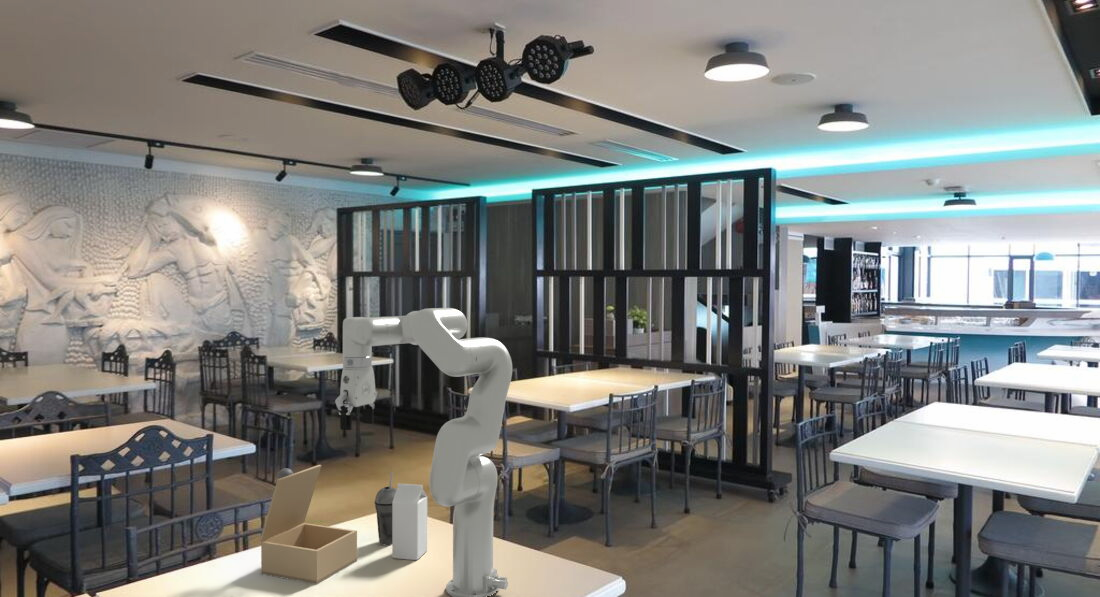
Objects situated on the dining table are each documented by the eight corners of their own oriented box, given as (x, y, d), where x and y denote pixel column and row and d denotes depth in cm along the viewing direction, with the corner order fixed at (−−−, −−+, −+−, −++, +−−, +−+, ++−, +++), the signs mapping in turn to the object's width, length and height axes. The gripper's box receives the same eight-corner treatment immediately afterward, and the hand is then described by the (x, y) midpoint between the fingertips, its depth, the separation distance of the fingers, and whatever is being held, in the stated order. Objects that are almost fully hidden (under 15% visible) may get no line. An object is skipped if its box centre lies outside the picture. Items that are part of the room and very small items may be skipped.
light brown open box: (357, 561, 192) (356, 530, 192) (317, 584, 177) (317, 551, 177) (304, 552, 198) (304, 523, 198) (261, 574, 183) (261, 542, 183)
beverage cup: (373, 539, 209) (373, 469, 208) (399, 536, 211) (399, 467, 210) (375, 548, 202) (375, 475, 201) (402, 545, 204) (402, 473, 204)
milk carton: (417, 560, 193) (417, 488, 192) (392, 558, 194) (392, 487, 194) (427, 551, 200) (427, 481, 199) (402, 549, 201) (402, 480, 201)
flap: (321, 465, 196) (303, 455, 198) (279, 480, 181) (260, 469, 183) (304, 522, 198) (286, 512, 200) (261, 541, 183) (242, 530, 185)
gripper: (349, 366, 188) (349, 433, 188) (387, 360, 204) (387, 421, 204) (325, 365, 190) (325, 431, 191) (364, 359, 207) (364, 420, 207)
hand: (357, 426), depth 197 cm, fingers open, 9 cm apart
